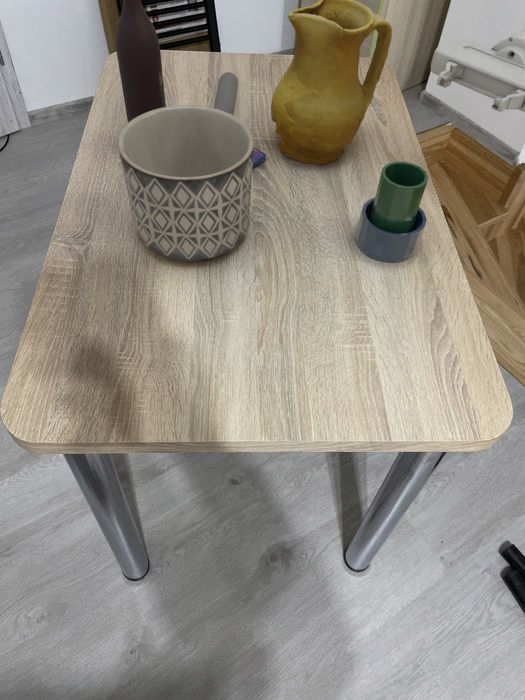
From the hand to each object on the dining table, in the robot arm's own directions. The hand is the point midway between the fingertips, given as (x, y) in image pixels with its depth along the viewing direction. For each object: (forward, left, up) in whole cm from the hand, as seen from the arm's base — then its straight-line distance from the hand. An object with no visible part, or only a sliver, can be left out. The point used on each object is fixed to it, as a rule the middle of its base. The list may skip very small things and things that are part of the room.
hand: (468, 92), depth 79 cm
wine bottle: (+53, +2, -21) cm, 57 cm away
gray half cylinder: (+47, -22, -21) cm, 56 cm away
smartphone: (+38, +1, -21) cm, 43 cm away
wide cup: (+6, +11, -21) cm, 24 cm away
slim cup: (+6, +11, -20) cm, 24 cm away
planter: (+37, +20, -21) cm, 47 cm away
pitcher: (+24, -12, -21) cm, 34 cm away
